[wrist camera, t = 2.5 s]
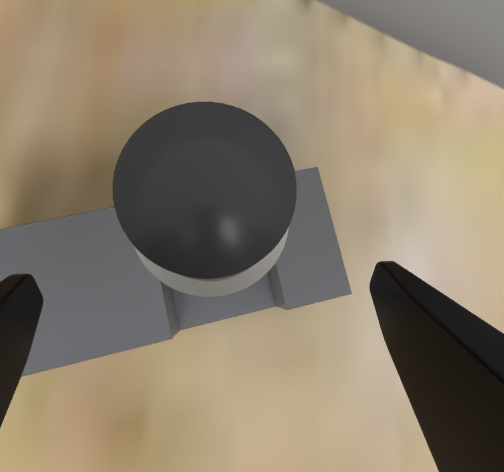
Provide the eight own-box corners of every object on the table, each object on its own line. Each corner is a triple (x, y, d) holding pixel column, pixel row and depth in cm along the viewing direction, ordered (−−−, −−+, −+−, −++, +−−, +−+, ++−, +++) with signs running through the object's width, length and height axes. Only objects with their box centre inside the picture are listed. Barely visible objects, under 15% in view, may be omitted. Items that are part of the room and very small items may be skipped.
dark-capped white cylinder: (226, 303, 17) (246, 345, 5) (173, 271, 17) (40, 221, 4) (258, 250, 18) (354, 154, 5) (206, 219, 18) (172, 45, 5)
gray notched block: (324, 292, 19) (351, 293, 15) (-156, 411, 16) (-281, 452, 12) (298, 191, 20) (317, 167, 16) (-165, 286, 17) (-285, 285, 13)
